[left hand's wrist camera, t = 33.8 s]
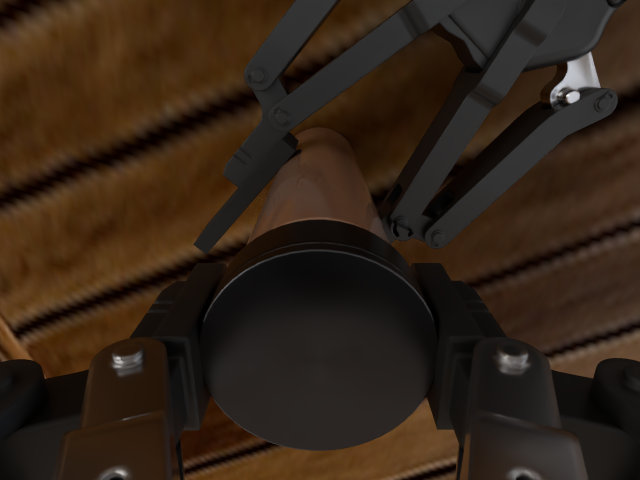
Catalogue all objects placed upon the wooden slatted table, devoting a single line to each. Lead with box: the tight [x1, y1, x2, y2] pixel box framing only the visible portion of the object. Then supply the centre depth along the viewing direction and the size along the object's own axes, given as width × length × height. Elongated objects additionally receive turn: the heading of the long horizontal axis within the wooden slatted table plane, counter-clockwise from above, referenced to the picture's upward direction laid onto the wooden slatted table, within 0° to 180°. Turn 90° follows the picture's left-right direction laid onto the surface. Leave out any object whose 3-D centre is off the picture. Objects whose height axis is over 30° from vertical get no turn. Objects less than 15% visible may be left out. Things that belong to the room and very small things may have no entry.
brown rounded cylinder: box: [247, 127, 391, 245], centre depth 19 cm, size 4×4×18 cm
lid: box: [199, 220, 439, 451], centre depth 10 cm, size 5×5×2 cm
